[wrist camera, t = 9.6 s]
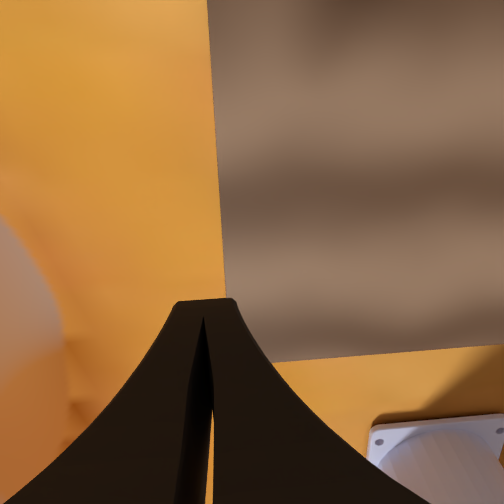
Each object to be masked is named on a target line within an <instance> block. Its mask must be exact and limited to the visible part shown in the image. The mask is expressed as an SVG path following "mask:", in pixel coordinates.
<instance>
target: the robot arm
mask: <svg viewBox="0 0 504 504" xmlns="http://www.w3.org/2000/svg"><path fill="white" fill-rule="evenodd" d="M212 410H213V418H214V470H213V504H504V468H503V467H502V465H501V464H500V462H499V457H500V454H501V450H502V447H503V444H504V414H489V415H478V416H467V417H456V418H445V419H434V420H423V421H412V422H401V423H390V424H379V425H375V426H373V427H372V428H371V429H370V432H369V440H368V449H367V457H366V458H364V457H363V456H362V455H361V454H360V453H358V452H357V451H356V450H355V449H354V448H353V447H351V446H350V445H349V444H348V443H347V442H346V441H344V440H343V439H342V438H341V437H340V436H339V435H337V434H336V433H335V432H334V431H333V430H332V429H330V428H329V427H328V426H327V425H326V424H325V423H324V422H323V421H322V420H321V419H320V418H319V417H318V416H317V415H316V414H315V413H314V412H313V411H312V410H311V409H310V408H309V407H308V406H307V405H306V404H305V403H304V402H303V401H302V400H301V399H300V398H299V397H298V396H297V395H296V393H295V392H294V391H293V390H292V389H291V388H290V387H289V385H288V384H287V383H286V382H285V381H284V379H283V378H282V377H281V376H280V374H279V373H278V372H277V370H276V369H275V368H274V367H273V365H272V364H271V363H270V361H269V360H268V358H267V357H266V356H265V354H264V353H263V351H262V350H261V348H260V347H259V345H258V344H257V342H256V340H255V339H254V337H253V336H252V334H251V332H250V331H249V329H248V327H247V325H246V323H245V322H244V320H243V317H242V315H241V313H240V311H239V308H238V306H237V302H236V301H235V300H234V299H233V298H219V299H205V300H191V301H178V302H177V303H176V304H175V305H174V306H173V308H172V311H171V313H170V315H169V317H168V318H167V320H166V322H165V324H164V326H163V328H162V329H161V331H160V333H159V334H158V336H157V338H156V339H155V341H154V343H153V344H152V346H151V347H150V349H149V350H148V352H147V353H146V355H145V357H144V358H143V360H142V361H141V362H140V364H139V365H138V367H137V368H136V369H135V371H134V372H133V373H132V375H131V376H130V377H129V379H128V380H127V381H126V383H125V384H124V386H123V387H122V388H121V389H120V391H119V392H118V393H117V394H116V396H115V397H114V398H113V399H112V401H111V402H110V403H109V404H108V405H107V406H106V408H105V409H104V410H103V411H102V412H101V413H100V414H99V416H98V417H97V418H96V419H95V420H94V421H93V422H92V423H91V424H90V425H89V427H88V428H87V429H86V430H85V431H84V432H83V433H82V434H81V435H80V436H79V437H78V438H77V439H76V440H75V441H74V442H73V443H72V444H71V445H70V446H69V447H68V448H67V449H66V450H65V451H64V452H63V453H62V454H61V455H59V456H58V457H57V458H56V459H55V460H54V461H53V462H52V463H51V464H50V465H49V466H48V467H47V468H45V469H44V470H43V471H42V472H41V473H40V474H39V475H37V476H36V477H35V478H34V479H33V480H31V481H30V482H29V483H28V484H27V485H26V486H24V487H23V488H22V489H21V490H20V491H18V492H17V493H16V494H15V495H14V496H12V497H11V498H10V499H9V500H7V501H6V502H5V503H4V504H205V496H206V484H207V471H208V458H209V445H210V432H211V419H212Z"/></svg>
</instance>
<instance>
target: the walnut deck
mask: <svg viewBox="0 0 504 504" xmlns="http://www.w3.org/2000/svg"><path fill="white" fill-rule="evenodd" d="M207 8H208V23H209V39H210V54H211V69H212V85H213V100H214V116H215V131H216V146H217V162H218V177H219V193H220V208H221V224H222V239H223V254H224V270H225V285H226V298H233V299H234V300H235V301H236V302H237V306H238V308H239V311H240V313H241V315H242V317H243V320H244V322H245V323H246V325H247V327H248V329H249V331H250V332H251V334H252V336H253V337H254V339H255V340H256V342H257V344H258V345H259V347H260V348H261V350H262V351H263V353H264V354H265V356H266V357H267V358H268V360H269V361H270V363H275V362H287V361H300V360H312V359H325V358H337V357H349V356H362V355H374V354H386V353H399V352H411V351H423V350H436V349H448V348H460V347H473V346H485V345H497V344H504V0H207Z"/></svg>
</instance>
